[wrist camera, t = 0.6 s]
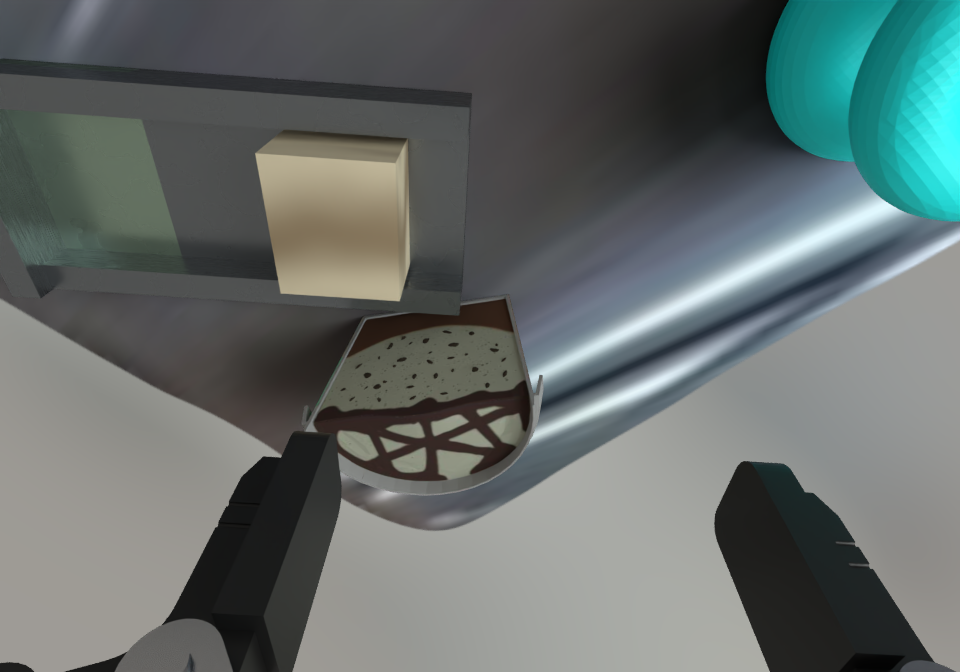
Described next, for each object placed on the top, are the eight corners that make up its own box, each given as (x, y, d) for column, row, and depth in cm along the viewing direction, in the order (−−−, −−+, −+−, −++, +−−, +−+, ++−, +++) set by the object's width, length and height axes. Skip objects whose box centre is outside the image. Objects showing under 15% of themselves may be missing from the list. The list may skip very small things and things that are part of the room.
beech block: (285, 128, 26) (255, 153, 23) (407, 137, 26) (395, 163, 23) (303, 256, 30) (280, 293, 27) (409, 263, 30) (399, 301, 27)
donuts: (1326, 54, 15) (964, 284, 20) (1039, 19, 24) (829, 189, 28) (1228, -260, 12) (817, 108, 17) (930, -173, 20) (711, 57, 25)
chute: (-30, 56, 25) (-107, 71, 22) (471, 93, 26) (468, 113, 23) (61, 261, 32) (12, 296, 28) (462, 288, 32) (458, 325, 29)
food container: (370, 391, 37) (335, 512, 29) (340, 319, 34) (291, 435, 26) (544, 368, 36) (559, 489, 28) (533, 290, 32) (546, 403, 24)
